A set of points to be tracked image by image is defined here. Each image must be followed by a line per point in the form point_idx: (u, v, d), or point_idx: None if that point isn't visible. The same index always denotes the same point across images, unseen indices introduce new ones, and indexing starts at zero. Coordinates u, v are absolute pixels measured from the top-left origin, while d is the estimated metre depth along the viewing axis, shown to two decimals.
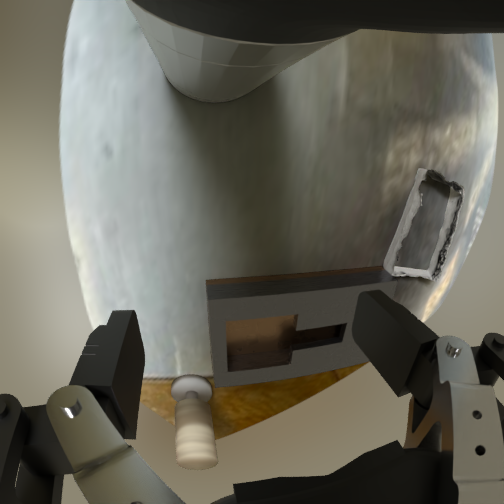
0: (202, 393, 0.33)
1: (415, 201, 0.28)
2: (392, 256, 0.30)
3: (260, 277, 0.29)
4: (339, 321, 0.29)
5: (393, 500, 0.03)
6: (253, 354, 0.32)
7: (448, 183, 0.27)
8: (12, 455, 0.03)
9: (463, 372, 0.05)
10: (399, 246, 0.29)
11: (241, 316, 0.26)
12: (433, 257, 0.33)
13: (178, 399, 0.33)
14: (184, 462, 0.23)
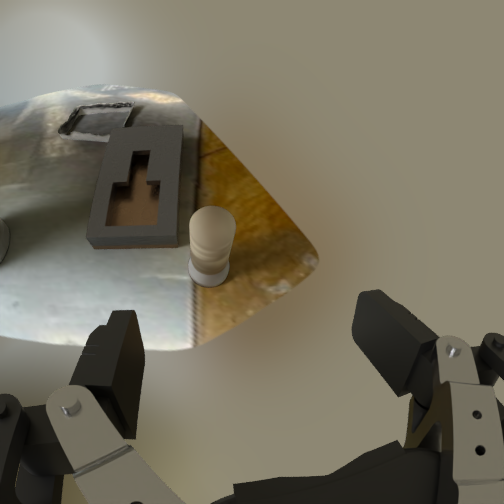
0: None
1: (75, 134, 0.41)
2: (106, 137, 0.42)
3: None
4: (129, 156, 0.38)
5: (393, 500, 0.03)
6: None
7: (70, 118, 0.42)
8: (12, 455, 0.03)
9: (463, 372, 0.05)
10: (98, 135, 0.42)
11: (103, 216, 0.34)
12: (121, 111, 0.47)
13: (217, 278, 0.36)
14: (210, 238, 0.27)
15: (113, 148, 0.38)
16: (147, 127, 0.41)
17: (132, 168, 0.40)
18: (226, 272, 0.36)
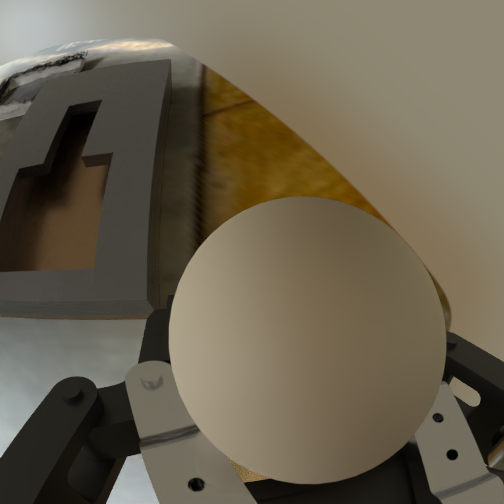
0: None
1: None
2: None
3: None
4: (60, 115, 0.15)
5: None
6: None
7: None
8: (75, 440, 0.04)
9: None
10: (28, 101, 0.19)
11: None
12: (68, 68, 0.24)
13: None
14: (332, 429, 0.03)
15: (38, 107, 0.16)
16: (103, 68, 0.18)
17: (70, 142, 0.18)
18: None
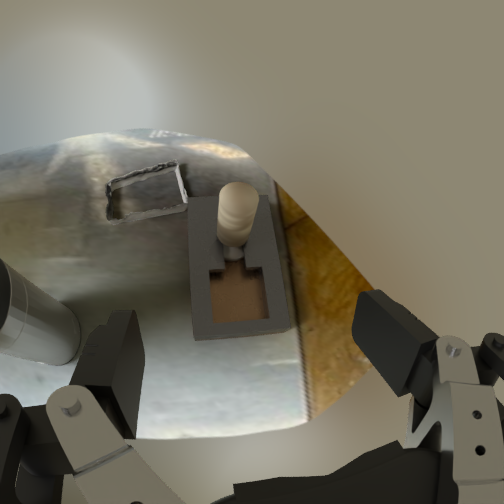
0: None
1: (132, 216, 0.41)
2: (175, 208, 0.43)
3: None
4: None
5: (393, 500, 0.03)
6: (262, 298, 0.39)
7: (109, 198, 0.42)
8: (12, 455, 0.03)
9: (463, 372, 0.05)
10: (166, 209, 0.42)
11: (208, 311, 0.35)
12: (163, 172, 0.47)
13: (240, 252, 0.40)
14: (238, 207, 0.31)
15: (196, 224, 0.40)
16: None
17: None
18: None
